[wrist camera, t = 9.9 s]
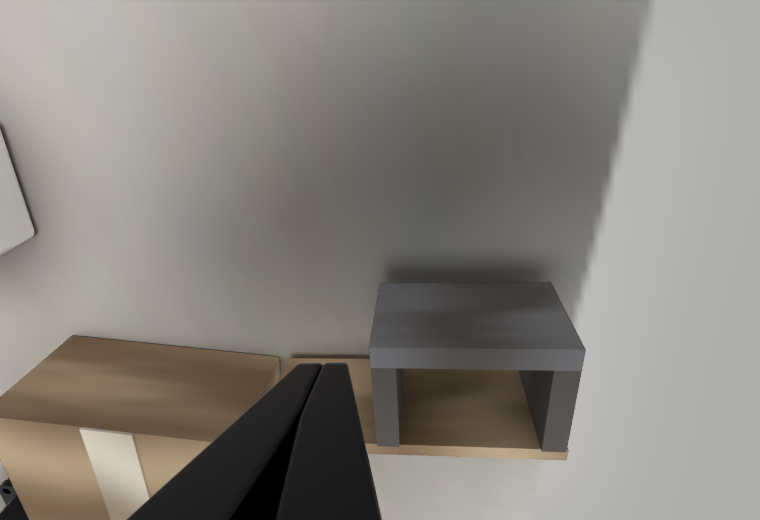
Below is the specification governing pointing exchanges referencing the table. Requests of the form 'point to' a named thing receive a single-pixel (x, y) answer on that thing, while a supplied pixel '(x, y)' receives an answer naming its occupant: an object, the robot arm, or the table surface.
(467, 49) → the table surface
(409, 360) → the flap
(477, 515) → the table surface
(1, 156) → the jar
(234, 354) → the carton
